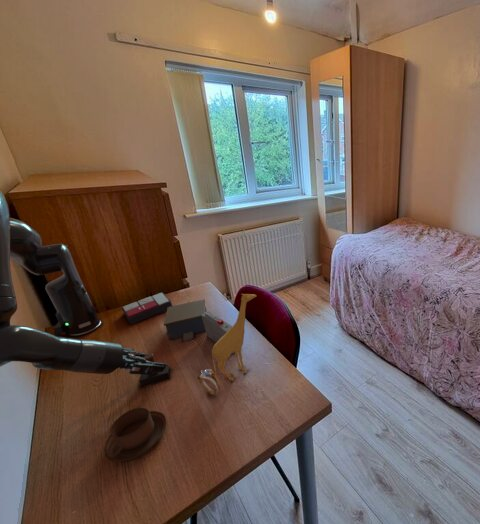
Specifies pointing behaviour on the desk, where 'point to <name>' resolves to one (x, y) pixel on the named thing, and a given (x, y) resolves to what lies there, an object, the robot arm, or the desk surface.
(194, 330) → the grey storage box
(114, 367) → the robot arm
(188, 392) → the desk surface
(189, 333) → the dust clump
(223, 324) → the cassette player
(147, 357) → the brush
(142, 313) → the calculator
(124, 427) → the brown fedora hat
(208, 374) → the ring
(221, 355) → the giraffe
